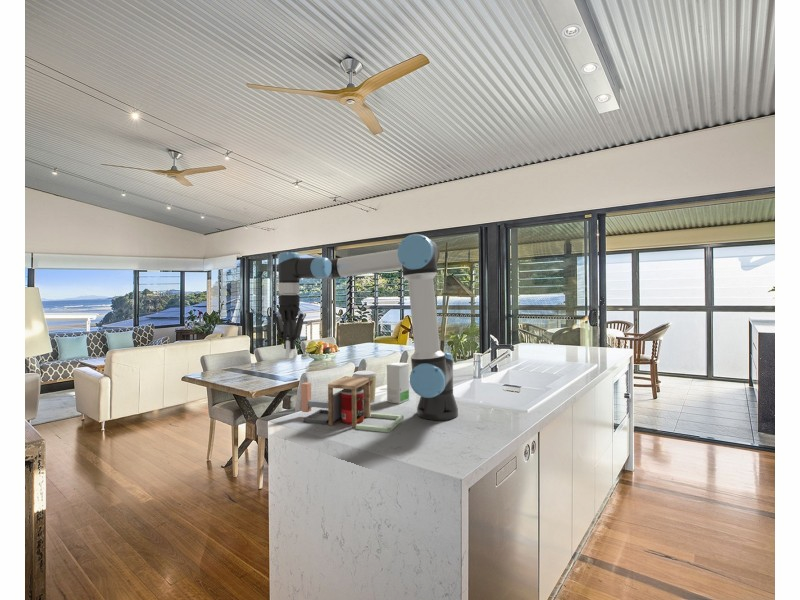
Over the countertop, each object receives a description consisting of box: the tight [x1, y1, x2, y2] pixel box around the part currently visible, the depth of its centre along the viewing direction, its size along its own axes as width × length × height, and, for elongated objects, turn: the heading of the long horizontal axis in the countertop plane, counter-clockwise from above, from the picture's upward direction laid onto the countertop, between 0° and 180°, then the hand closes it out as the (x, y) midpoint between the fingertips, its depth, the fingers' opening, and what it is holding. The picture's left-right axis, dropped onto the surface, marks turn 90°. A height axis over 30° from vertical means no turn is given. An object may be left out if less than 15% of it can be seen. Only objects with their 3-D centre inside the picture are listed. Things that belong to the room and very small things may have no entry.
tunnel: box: [327, 375, 371, 429], centre depth 148 cm, size 10×13×14 cm
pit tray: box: [303, 408, 329, 425], centre depth 151 cm, size 9×12×1 cm
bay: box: [355, 412, 405, 433], centre depth 145 cm, size 12×15×1 cm
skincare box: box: [386, 361, 410, 405], centre depth 174 cm, size 8×7×16 cm
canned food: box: [340, 388, 365, 425], centre depth 148 cm, size 8×8×11 cm
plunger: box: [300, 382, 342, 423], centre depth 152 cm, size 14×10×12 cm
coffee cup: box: [353, 369, 377, 404], centre depth 174 cm, size 9×9×12 cm
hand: (289, 357), depth 155 cm, fingers closed
